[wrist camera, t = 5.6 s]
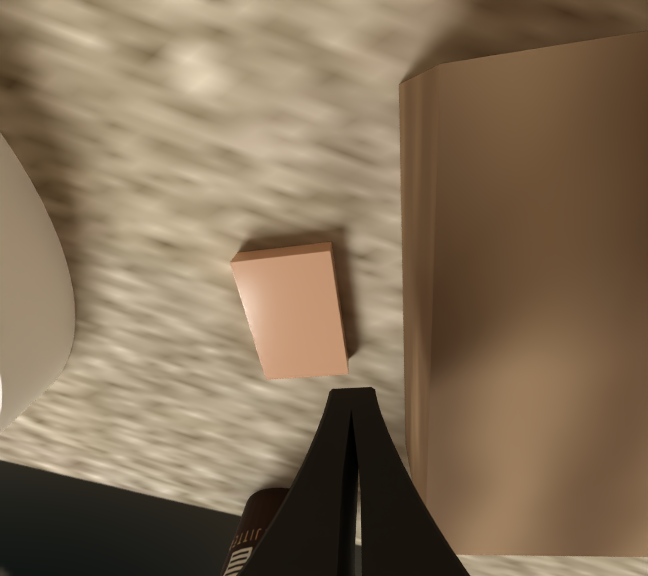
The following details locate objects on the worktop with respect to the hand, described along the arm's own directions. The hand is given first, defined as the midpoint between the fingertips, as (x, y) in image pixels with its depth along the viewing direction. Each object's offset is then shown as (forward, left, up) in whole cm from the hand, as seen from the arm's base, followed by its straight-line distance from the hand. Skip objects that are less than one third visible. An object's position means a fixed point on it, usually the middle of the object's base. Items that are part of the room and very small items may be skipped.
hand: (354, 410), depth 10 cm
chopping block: (-9, +1, -7) cm, 11 cm away
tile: (+3, 0, -6) cm, 6 cm away
